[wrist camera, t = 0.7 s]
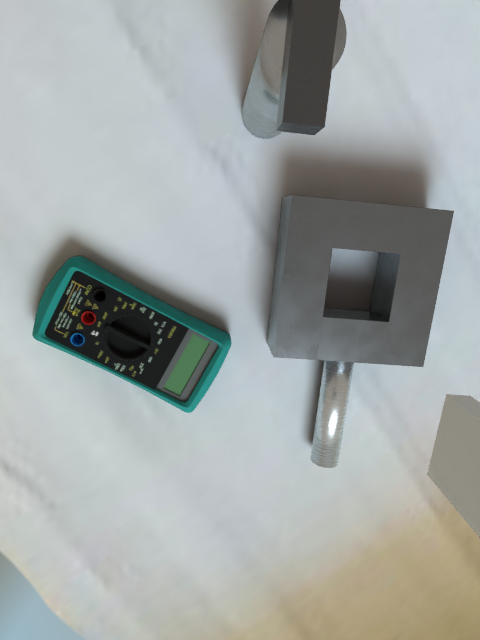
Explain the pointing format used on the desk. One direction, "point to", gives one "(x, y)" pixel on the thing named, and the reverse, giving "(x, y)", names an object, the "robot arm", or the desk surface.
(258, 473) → the desk surface
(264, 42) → the t key
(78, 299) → the digital multimeter
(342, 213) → the block
